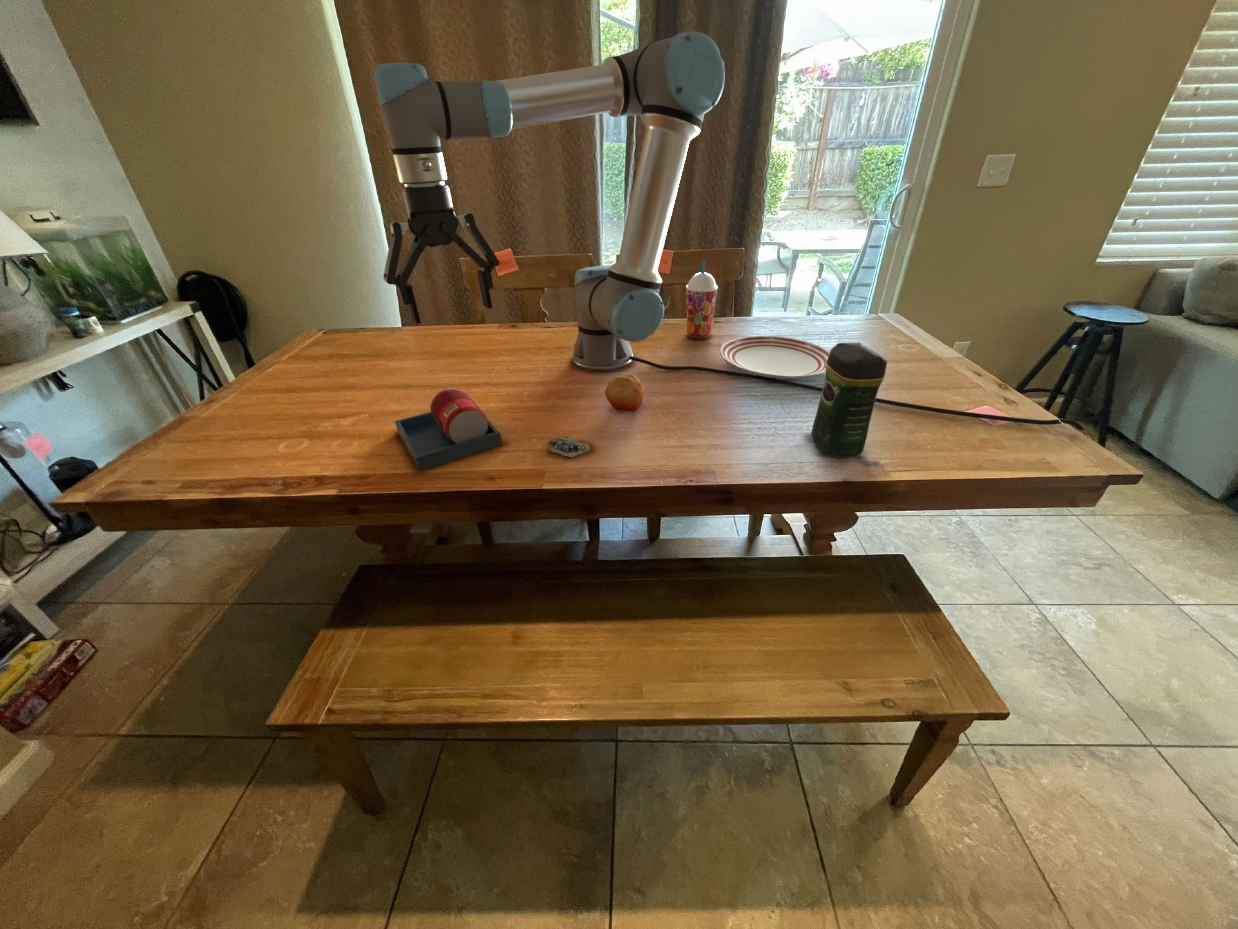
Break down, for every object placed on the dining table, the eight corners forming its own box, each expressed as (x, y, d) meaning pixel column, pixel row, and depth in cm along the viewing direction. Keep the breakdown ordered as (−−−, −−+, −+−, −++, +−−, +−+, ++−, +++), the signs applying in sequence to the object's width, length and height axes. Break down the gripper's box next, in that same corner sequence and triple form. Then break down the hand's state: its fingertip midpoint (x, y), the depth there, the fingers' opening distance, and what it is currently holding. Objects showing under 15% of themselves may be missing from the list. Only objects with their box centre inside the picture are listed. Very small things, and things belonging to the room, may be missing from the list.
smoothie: (712, 331, 146) (718, 258, 135) (714, 341, 139) (720, 265, 128) (683, 331, 147) (687, 258, 136) (684, 340, 140) (687, 265, 129)
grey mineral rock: (551, 438, 96) (550, 429, 95) (592, 439, 96) (592, 431, 95) (543, 457, 91) (542, 448, 90) (587, 458, 90) (586, 449, 89)
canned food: (490, 406, 92) (470, 386, 100) (446, 410, 88) (428, 389, 96) (489, 443, 96) (470, 421, 103) (447, 449, 91) (430, 425, 99)
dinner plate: (790, 340, 138) (792, 328, 137) (859, 377, 117) (862, 364, 115) (699, 354, 131) (700, 341, 130) (755, 396, 110) (757, 382, 108)
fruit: (651, 392, 109) (645, 370, 102) (642, 423, 106) (636, 402, 99) (616, 387, 112) (608, 365, 104) (606, 418, 108) (598, 397, 101)
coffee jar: (869, 458, 88) (899, 357, 78) (826, 461, 88) (850, 360, 78) (844, 431, 96) (868, 336, 86) (804, 433, 96) (823, 339, 86)
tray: (502, 445, 95) (500, 432, 93) (419, 470, 88) (415, 458, 87) (473, 412, 106) (470, 400, 105) (398, 433, 100) (394, 421, 98)
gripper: (347, 193, 74) (389, 333, 86) (504, 179, 85) (523, 305, 97) (338, 190, 79) (379, 323, 91) (488, 177, 90) (507, 297, 102)
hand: (453, 314), depth 94 cm, fingers open, 13 cm apart
